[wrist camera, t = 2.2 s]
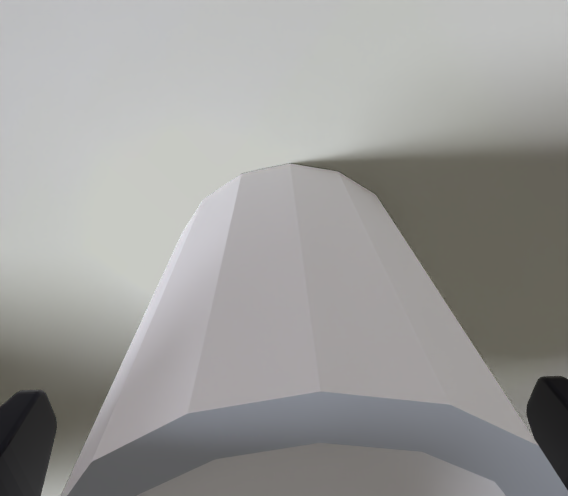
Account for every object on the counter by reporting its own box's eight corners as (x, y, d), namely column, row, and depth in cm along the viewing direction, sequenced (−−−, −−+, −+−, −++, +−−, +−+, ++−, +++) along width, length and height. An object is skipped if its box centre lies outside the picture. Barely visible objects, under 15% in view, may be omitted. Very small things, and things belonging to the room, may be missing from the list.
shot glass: (95, 206, 11) (-89, 509, 5) (380, 84, 10) (548, 311, 4) (229, 388, 15) (206, 690, 9) (452, 317, 13) (596, 616, 8)
